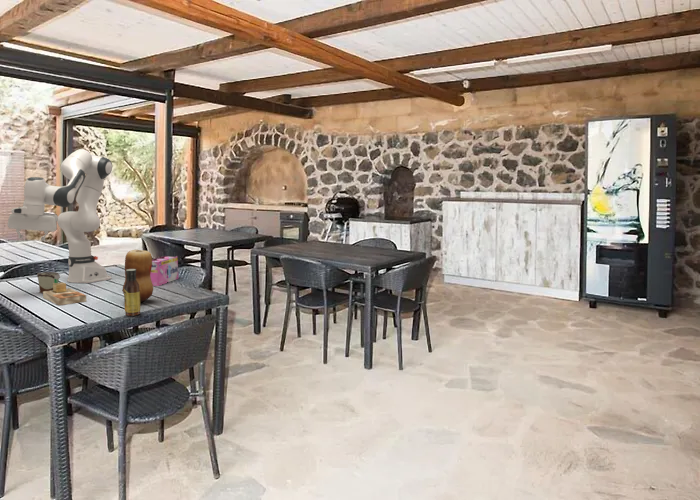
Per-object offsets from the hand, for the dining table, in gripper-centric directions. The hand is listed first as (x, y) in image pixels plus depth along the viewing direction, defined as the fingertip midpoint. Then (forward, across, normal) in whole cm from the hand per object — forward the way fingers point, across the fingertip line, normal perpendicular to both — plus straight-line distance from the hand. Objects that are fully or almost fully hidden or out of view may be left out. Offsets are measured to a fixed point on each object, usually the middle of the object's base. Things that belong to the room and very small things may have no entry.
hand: (31, 239), depth 249 cm
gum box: (+22, -62, -21) cm, 69 cm away
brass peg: (+27, -15, +7) cm, 31 cm away
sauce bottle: (+24, -48, +50) cm, 74 cm away
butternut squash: (+23, -50, +27) cm, 62 cm away
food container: (+27, -9, -6) cm, 29 cm away
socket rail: (+26, -17, +12) cm, 34 cm away
